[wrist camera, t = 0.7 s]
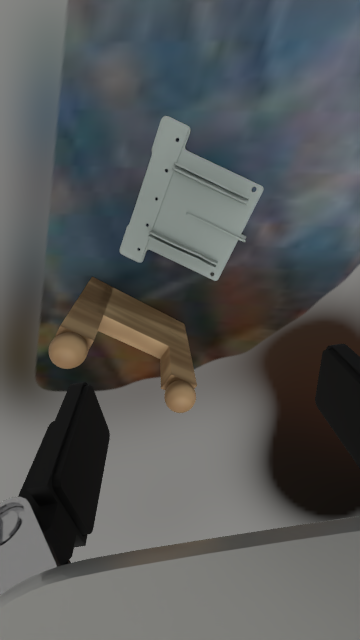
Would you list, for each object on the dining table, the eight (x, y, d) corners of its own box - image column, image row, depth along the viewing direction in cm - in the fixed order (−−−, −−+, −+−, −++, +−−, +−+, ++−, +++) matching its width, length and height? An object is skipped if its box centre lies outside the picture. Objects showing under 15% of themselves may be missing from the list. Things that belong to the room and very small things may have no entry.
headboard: (93, 273, 34) (50, 339, 20) (186, 321, 38) (204, 402, 24) (84, 292, 35) (37, 367, 21) (175, 336, 39) (186, 423, 25)
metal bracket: (285, 167, 25) (215, 303, 31) (276, 176, 30) (217, 290, 36) (149, 103, 25) (104, 250, 31) (163, 122, 31) (123, 245, 37)
